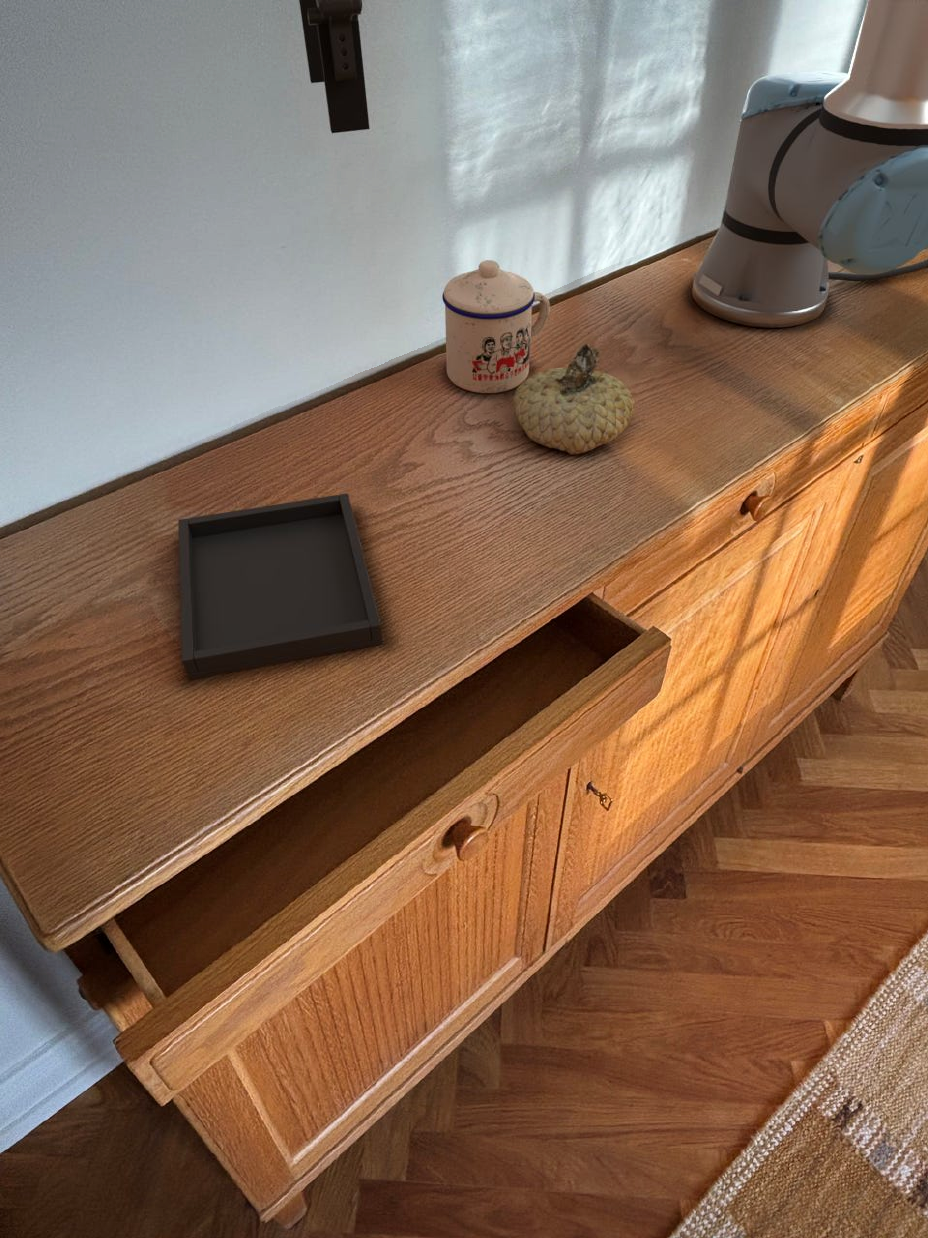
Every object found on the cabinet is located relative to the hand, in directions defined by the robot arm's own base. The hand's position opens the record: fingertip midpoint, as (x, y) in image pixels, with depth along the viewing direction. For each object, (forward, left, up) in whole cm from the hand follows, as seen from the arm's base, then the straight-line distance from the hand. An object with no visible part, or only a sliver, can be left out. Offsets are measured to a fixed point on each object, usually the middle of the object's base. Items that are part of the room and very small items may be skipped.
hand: (338, 103), depth 66 cm
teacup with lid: (-15, -5, -28) cm, 32 cm away
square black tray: (+11, +23, -27) cm, 37 cm away
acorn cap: (-19, +7, -28) cm, 34 cm away
